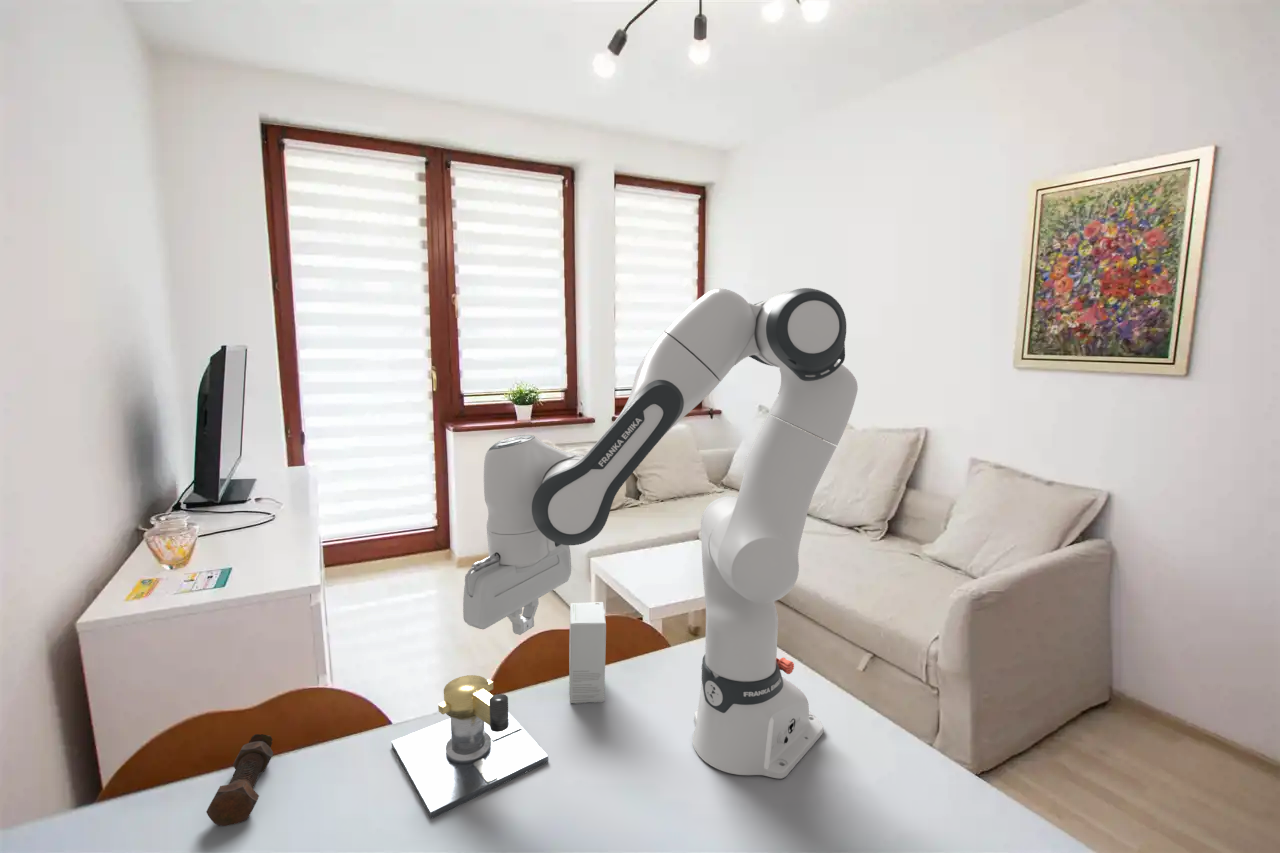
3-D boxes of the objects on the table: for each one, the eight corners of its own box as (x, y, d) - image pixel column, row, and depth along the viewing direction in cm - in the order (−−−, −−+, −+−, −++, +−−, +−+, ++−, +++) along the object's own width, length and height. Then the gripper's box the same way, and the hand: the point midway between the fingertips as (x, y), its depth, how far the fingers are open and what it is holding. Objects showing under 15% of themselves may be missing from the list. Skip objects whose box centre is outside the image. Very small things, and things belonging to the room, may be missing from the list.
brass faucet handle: (429, 709, 91) (428, 680, 90) (479, 684, 97) (478, 657, 97) (478, 748, 82) (477, 717, 82) (529, 719, 89) (529, 689, 88)
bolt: (268, 762, 94) (239, 833, 80) (235, 753, 92) (199, 824, 78) (287, 728, 94) (261, 793, 80) (254, 718, 93) (221, 783, 79)
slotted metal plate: (497, 705, 106) (496, 662, 105) (548, 761, 92) (547, 713, 91) (391, 747, 95) (389, 700, 94) (431, 818, 81) (428, 764, 80)
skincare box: (569, 679, 114) (568, 601, 112) (604, 677, 115) (604, 600, 112) (569, 705, 106) (568, 622, 103) (606, 703, 106) (606, 621, 104)
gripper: (481, 571, 79) (488, 668, 81) (576, 527, 96) (579, 608, 98) (448, 563, 82) (456, 656, 85) (546, 522, 100) (550, 600, 102)
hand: (523, 630), depth 92 cm, fingers closed
